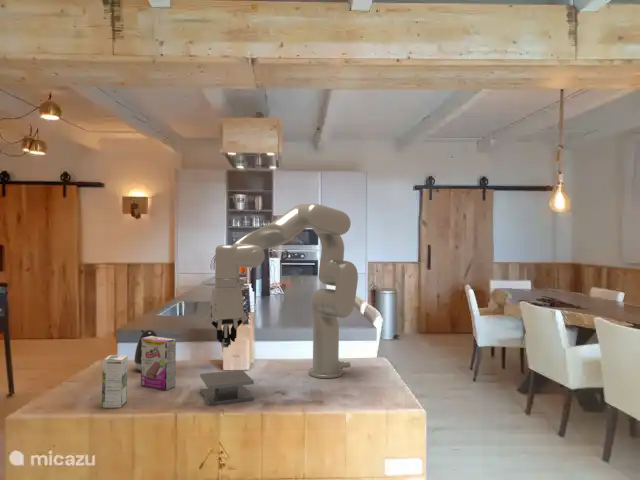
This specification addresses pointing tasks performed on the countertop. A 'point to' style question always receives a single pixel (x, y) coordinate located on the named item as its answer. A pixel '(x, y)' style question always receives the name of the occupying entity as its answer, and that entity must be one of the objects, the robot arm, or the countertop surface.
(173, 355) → the candy bar box
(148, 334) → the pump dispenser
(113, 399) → the syrup box
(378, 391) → the countertop surface
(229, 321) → the push button
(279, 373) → the countertop surface
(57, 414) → the countertop surface
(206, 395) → the stand
